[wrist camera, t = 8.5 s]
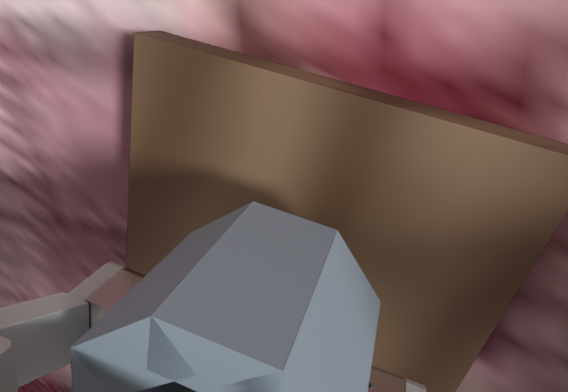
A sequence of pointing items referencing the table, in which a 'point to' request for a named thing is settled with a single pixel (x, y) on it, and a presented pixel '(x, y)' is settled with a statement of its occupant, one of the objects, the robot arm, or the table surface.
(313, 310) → the loose gear
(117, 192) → the table surface
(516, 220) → the gear board
